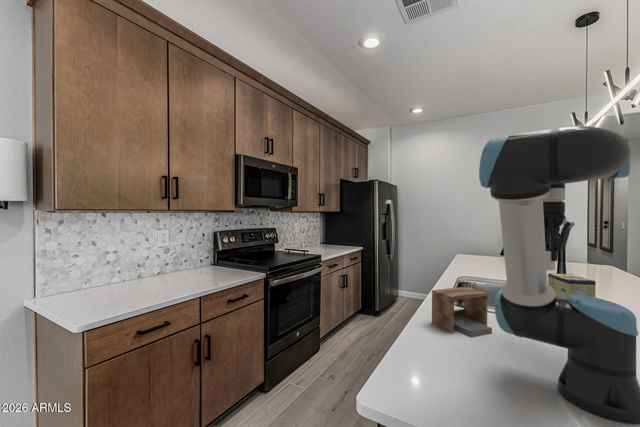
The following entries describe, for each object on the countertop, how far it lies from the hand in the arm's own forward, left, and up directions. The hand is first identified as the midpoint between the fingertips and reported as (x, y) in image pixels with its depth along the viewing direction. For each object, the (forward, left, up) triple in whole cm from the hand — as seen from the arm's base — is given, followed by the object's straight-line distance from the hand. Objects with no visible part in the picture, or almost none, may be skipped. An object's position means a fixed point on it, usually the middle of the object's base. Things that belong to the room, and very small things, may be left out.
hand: (550, 269), depth 102 cm
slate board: (+19, +18, -25) cm, 36 cm away
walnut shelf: (+22, +18, -25) cm, 37 cm away
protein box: (+18, -45, -25) cm, 55 cm away
